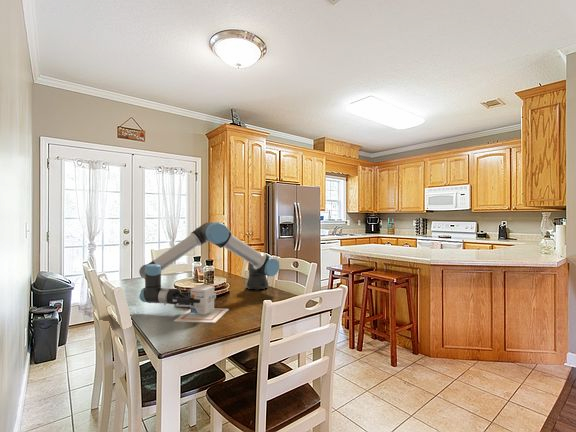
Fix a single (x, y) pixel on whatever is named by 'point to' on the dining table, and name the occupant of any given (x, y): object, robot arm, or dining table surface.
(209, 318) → the marked sheet
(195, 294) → the ink box
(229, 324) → the dining table surface
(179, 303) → the ink pad
